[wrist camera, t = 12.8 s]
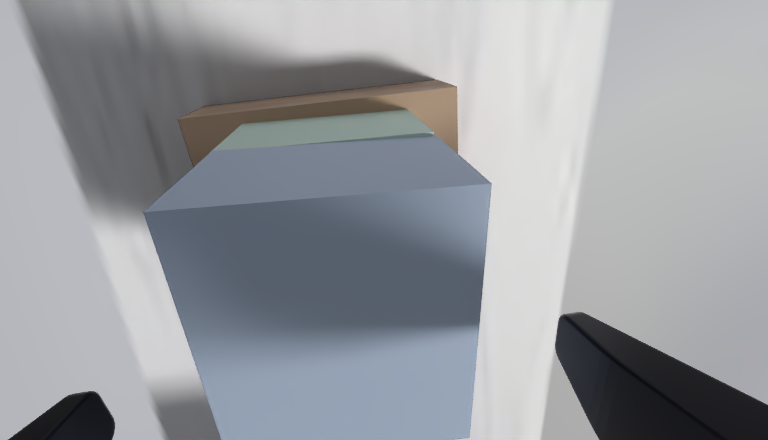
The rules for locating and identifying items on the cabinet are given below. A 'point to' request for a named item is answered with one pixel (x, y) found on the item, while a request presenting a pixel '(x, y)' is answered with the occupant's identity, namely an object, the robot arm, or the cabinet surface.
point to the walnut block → (325, 112)
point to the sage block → (326, 130)
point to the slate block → (330, 287)
